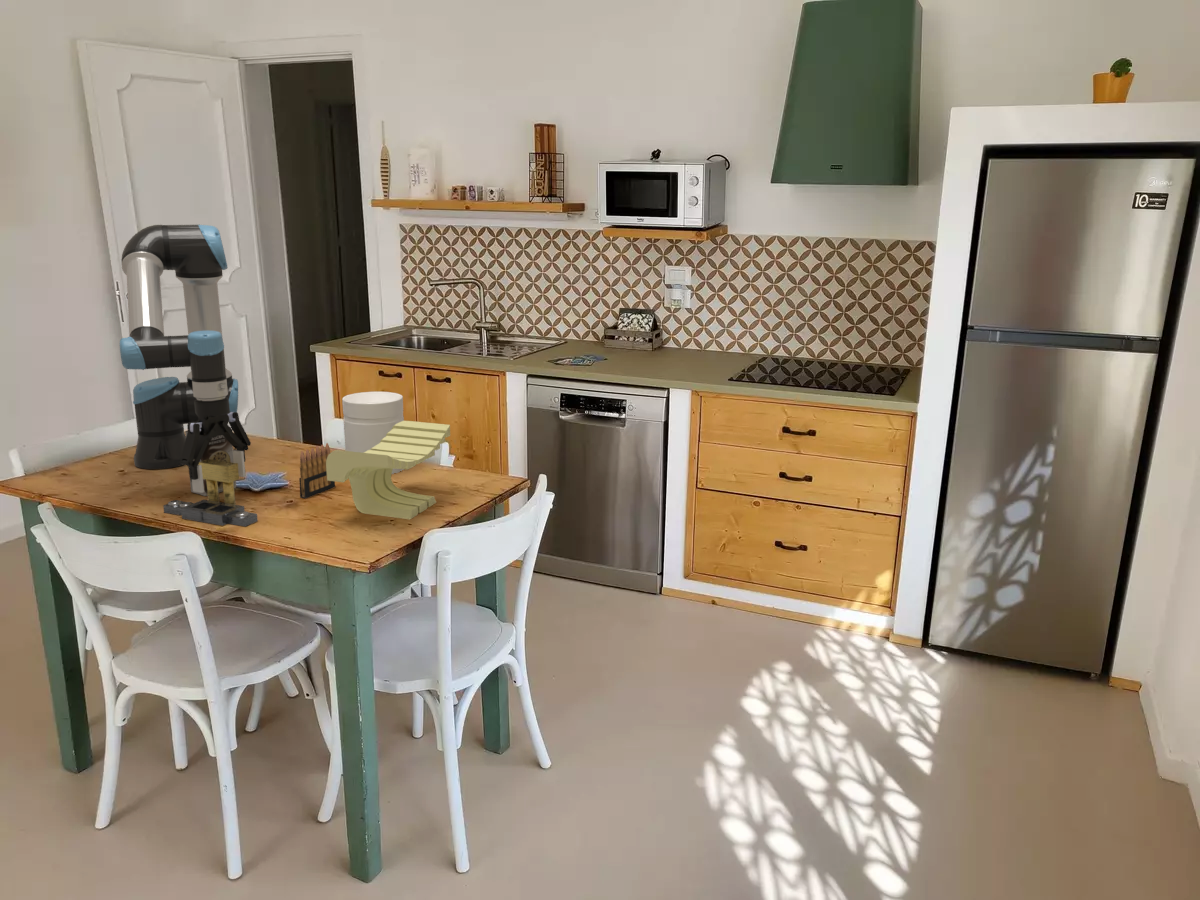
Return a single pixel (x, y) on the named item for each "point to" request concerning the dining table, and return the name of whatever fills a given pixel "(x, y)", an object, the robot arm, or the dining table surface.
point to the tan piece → (220, 478)
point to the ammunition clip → (314, 472)
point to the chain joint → (211, 512)
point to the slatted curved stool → (388, 469)
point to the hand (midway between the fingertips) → (220, 483)
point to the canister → (370, 419)
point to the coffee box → (216, 457)
